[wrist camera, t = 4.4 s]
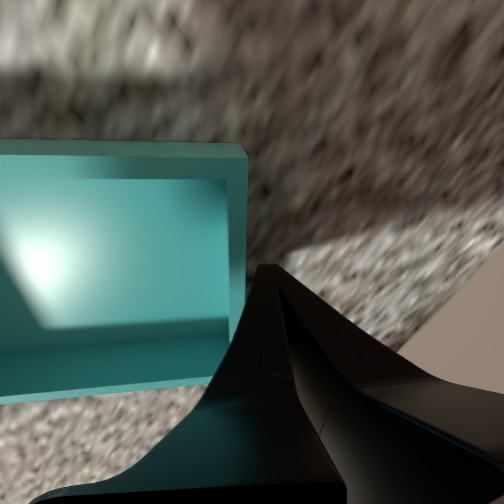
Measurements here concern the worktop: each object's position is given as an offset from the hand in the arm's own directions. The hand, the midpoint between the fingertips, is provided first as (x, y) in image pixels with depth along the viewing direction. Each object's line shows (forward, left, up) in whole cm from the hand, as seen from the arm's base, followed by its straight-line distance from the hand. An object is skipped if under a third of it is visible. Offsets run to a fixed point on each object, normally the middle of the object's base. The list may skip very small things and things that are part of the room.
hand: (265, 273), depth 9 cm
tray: (0, +7, -1) cm, 7 cm away
